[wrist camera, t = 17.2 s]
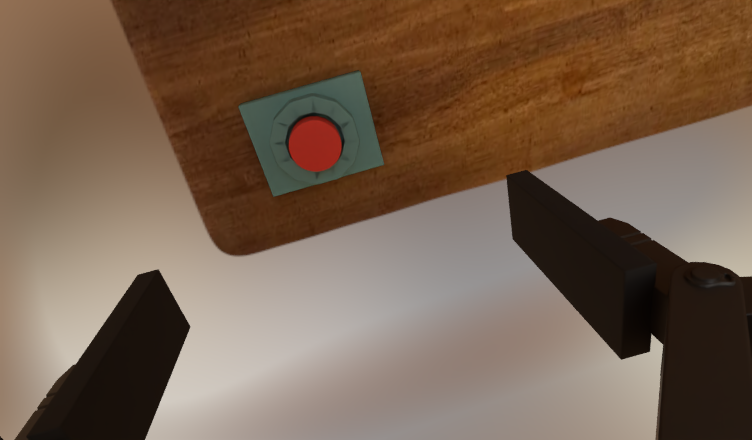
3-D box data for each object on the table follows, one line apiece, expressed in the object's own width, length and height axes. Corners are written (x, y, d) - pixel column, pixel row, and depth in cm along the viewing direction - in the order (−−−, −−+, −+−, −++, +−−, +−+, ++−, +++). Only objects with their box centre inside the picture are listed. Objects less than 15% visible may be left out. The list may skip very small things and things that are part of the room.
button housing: (274, 192, 38) (271, 205, 35) (240, 103, 34) (234, 110, 32) (382, 160, 38) (387, 171, 35) (358, 69, 35) (362, 73, 32)
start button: (299, 171, 35) (298, 177, 33) (282, 123, 33) (281, 128, 31) (346, 157, 35) (347, 163, 33) (332, 109, 33) (333, 113, 31)
